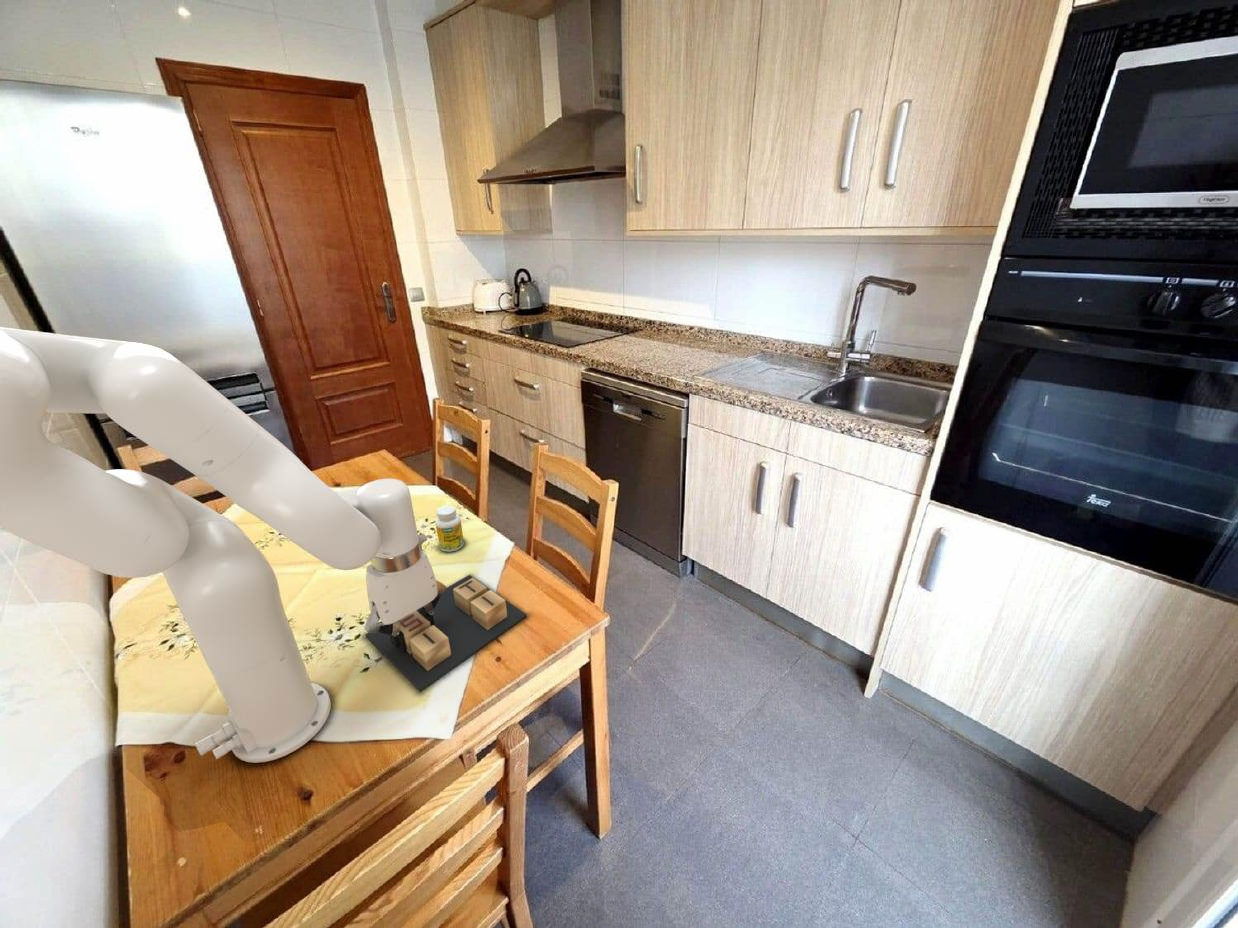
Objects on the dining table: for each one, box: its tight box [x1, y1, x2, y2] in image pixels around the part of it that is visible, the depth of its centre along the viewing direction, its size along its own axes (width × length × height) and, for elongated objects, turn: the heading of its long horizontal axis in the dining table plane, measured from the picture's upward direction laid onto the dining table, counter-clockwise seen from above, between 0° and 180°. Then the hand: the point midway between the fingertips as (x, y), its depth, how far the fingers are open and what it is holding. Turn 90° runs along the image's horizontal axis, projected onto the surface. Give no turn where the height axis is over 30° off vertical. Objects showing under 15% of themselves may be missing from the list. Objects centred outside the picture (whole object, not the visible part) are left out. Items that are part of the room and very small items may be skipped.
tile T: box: [453, 577, 488, 616], centre depth 96 cm, size 4×4×4 cm
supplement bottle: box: [434, 505, 465, 553], centre depth 113 cm, size 5×5×10 cm
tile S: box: [400, 611, 431, 654], centre depth 88 cm, size 4×4×4 cm
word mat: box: [365, 574, 528, 693], centre depth 92 cm, size 22×18×1 cm
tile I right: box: [470, 589, 507, 630], centre depth 93 cm, size 4×4×4 cm
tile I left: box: [409, 625, 451, 671], centre depth 84 cm, size 4×4×4 cm
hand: (414, 637), depth 88 cm, fingers closed on tile S, 4 cm apart
